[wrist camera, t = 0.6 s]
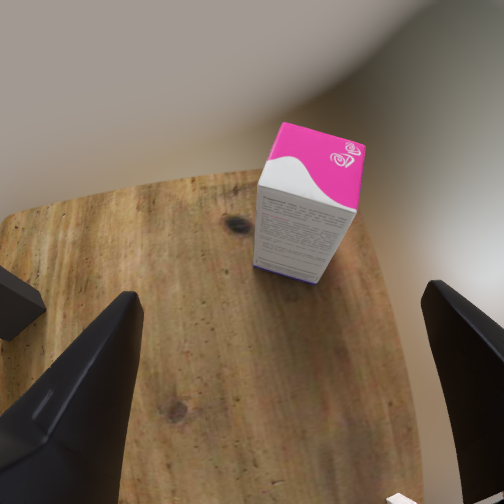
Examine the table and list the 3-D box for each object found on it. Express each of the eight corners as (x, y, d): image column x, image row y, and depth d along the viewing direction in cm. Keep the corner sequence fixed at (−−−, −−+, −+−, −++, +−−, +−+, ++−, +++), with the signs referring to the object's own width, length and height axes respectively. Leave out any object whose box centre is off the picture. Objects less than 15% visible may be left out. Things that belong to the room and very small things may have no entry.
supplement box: (318, 287, 26) (357, 215, 16) (250, 267, 27) (249, 185, 17) (332, 229, 29) (367, 142, 18) (270, 212, 30) (277, 118, 19)
